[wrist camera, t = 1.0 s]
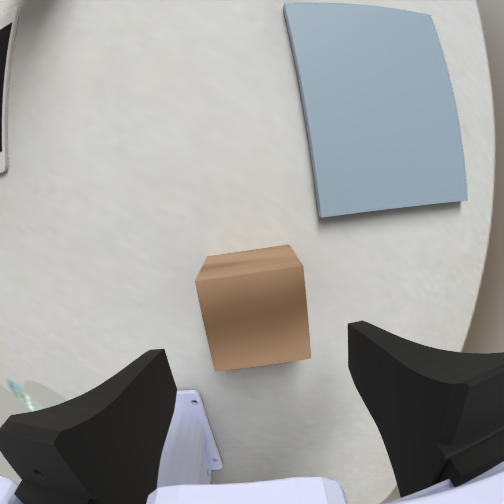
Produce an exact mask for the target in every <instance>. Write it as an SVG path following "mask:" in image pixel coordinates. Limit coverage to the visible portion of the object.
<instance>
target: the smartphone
mask: <svg viewBox="0 0 504 504" xmlns="http://www.w3.org/2000/svg"><path fill="white" fill-rule="evenodd" d="M19 12H20V7H19V6H17V5H16V6H14V7H12V8H11V9H9V10H8V11H6V12H4V13H3V14H1V15H0V174H1V173H3V172H6V171H7V170H8V94H9V80H10V69H11V60H12V52H13V45H14V39H15V33H16V27H17V22H18V17H19Z"/></svg>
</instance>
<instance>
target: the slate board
mask: <svg viewBox="0 0 504 504" xmlns="http://www.w3.org/2000/svg"><path fill="white" fill-rule="evenodd" d="M283 11H284V15H285V19H286V24H287V28H288V33H289V37H290V42H291V47H292V51H293V56H294V61H295V66H296V71H297V76H298V82H299V87H300V93H301V98H302V104H303V110H304V116H305V122H306V128H307V134H308V141H309V147H310V154H311V161H312V168H313V176H314V183H315V191H316V199H317V208H318V216H320V217H329V216H337V215H345V214H352V213H360V212H369V211H377V210H385V209H393V208H402V207H411V206H420V205H429V204H438V203H447V202H457V201H466V200H468V199H467V183H466V171H465V161H464V153H463V145H462V138H461V131H460V125H459V119H458V113H457V108H456V103H455V98H454V94H453V89H452V85H451V80H450V76H449V72H448V69H447V65H446V61H445V58H444V54H443V51H442V47H441V44H440V41H439V38H438V35H437V32H436V29H435V26H434V23H433V20H432V17H431V15H427V14H422V13H417V12H412V11H406V10H400V9H393V8H386V7H378V6H369V5H358V4H343V3H284V7H283Z"/></svg>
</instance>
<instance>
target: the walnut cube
mask: <svg viewBox="0 0 504 504" xmlns="http://www.w3.org/2000/svg"><path fill="white" fill-rule="evenodd" d="M195 284H196V289H197V293H198V298H199V303H200V308H201V312H202V317H203V321H204V326H205V330H206V335H207V339H208V344H209V348H210V352H211V356H212V361H213V365H214V369H215V371H223V370H232V369H241V368H249V367H257V366H265V365H272V364H279V363H285V362H292V361H298V360H304V359H310V358H311V349H310V336H309V324H308V312H307V301H306V291H305V281H304V271H303V265H302V264H301V262H300V261H299V259H298V258H297V256H296V255H295V253H294V252H293V250H292V249H291V247H290V246H289V245H283V246H276V247H269V248H263V249H256V250H249V251H242V252H235V253H228V254H221V255H214V256H207V258H206V260H205V262H204V264H203V266H202V268H201V270H200V272H199V274H198V276H197V278H196V280H195Z"/></svg>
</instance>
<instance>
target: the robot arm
mask: <svg viewBox="0 0 504 504" xmlns="http://www.w3.org/2000/svg"><path fill="white" fill-rule="evenodd" d="M348 367H349V370H350V373H351V376H352V379H353V381H354V384H355V386H356V388H357V390H358V392H359V394H360V396H361V397H362V399H363V401H364V403H365V405H366V407H367V408H368V410H369V412H370V414H371V416H372V418H373V419H374V421H375V423H376V425H377V427H378V429H379V431H380V434H381V436H382V439H383V442H384V444H385V447H386V450H387V453H388V456H389V459H390V462H391V465H392V468H393V471H394V474H395V478H396V481H397V485H398V488H399V492H400V496H401V498H400V499H397V500H394V501H391V502H388V503H383V504H504V352H503V353H490V354H475V353H474V354H473V353H460V352H453V351H446V350H441V349H436V348H432V347H428V346H424V345H421V344H418V343H415V342H412V341H409V340H407V339H404V338H401V337H399V336H397V335H394V334H392V333H390V332H387V331H385V330H383V329H381V328H379V327H377V326H374V325H372V324H370V323H368V322H365V321H359V322H354V323H349V324H348ZM193 400H196V401H197V402H193ZM0 451H1V452H2V454H3V456H4V457H5V458H6V460H7V461H8V462H9V464H10V465H11V466H12V468H13V469H14V470H15V471H16V473H17V474H18V475H19V476H20V478H21V479H23V480H22V481H21V483H20V484H19V485H18V484H16V483H15V482H14V481H12V480H10V479H7V478H5V477H2V476H0V504H348V503H347V499H346V496H345V493H344V491H343V489H342V487H341V485H340V483H339V482H336V481H333V480H330V479H326V478H323V477H320V476H305V477H289V478H282V479H274V480H265V481H255V482H243V483H227V484H210V483H211V473H212V470H220V469H222V468H223V463H222V460H221V457H220V454H219V451H218V449H217V446H216V443H215V440H214V437H213V434H212V431H211V428H210V424H209V421H208V418H207V415H206V412H205V409H204V405H203V402H202V399H201V396H200V393H199V392H198V391H196V390H181V391H177V388H176V385H175V382H174V379H173V376H172V372H171V369H170V366H169V363H168V360H167V356H166V353H165V350H164V349H156V350H149V351H147V352H146V353H144V354H143V355H141V356H140V357H139V358H137V359H136V360H135V361H133V362H132V363H131V364H129V365H128V366H127V367H125V368H124V369H123V370H121V371H120V372H118V373H117V374H116V375H114V376H113V377H111V378H110V379H108V380H107V381H105V382H104V383H102V384H101V385H99V386H97V387H96V388H94V389H92V390H90V391H88V392H86V393H85V394H83V395H81V396H78V397H76V398H74V399H71V400H69V401H66V402H64V403H61V404H59V405H56V406H52V407H50V408H46V409H42V410H38V411H34V412H28V413H22V414H16V415H11V416H10V417H9V418H8V419H7V420H6V422H5V423H4V424H3V425H2V426H1V428H0Z"/></svg>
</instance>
